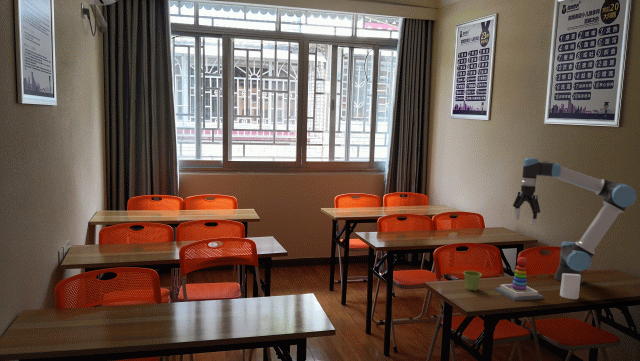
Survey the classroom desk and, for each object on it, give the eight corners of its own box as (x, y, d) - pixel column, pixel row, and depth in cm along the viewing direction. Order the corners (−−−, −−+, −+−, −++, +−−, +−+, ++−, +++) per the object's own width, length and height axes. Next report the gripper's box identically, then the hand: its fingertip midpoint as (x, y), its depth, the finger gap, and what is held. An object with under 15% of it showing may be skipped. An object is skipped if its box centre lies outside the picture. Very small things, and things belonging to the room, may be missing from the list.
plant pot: (474, 293, 271) (475, 277, 270) (458, 288, 278) (460, 272, 277) (483, 289, 278) (485, 274, 276) (468, 285, 285) (469, 269, 283)
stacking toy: (529, 294, 269) (532, 259, 266) (513, 293, 269) (517, 259, 267) (523, 289, 276) (526, 255, 274) (508, 288, 277) (512, 255, 274)
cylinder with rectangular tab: (573, 293, 279) (576, 272, 277) (581, 299, 270) (584, 277, 268) (556, 292, 279) (559, 271, 278) (564, 298, 270) (566, 276, 269)
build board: (522, 288, 283) (522, 282, 283) (542, 298, 268) (543, 292, 268) (494, 290, 278) (495, 283, 277) (513, 300, 263) (514, 294, 262)
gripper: (508, 182, 302) (505, 217, 304) (538, 188, 278) (534, 226, 281) (519, 182, 304) (515, 217, 307) (549, 188, 280) (545, 226, 283)
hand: (524, 221), depth 294 cm, fingers open, 13 cm apart
